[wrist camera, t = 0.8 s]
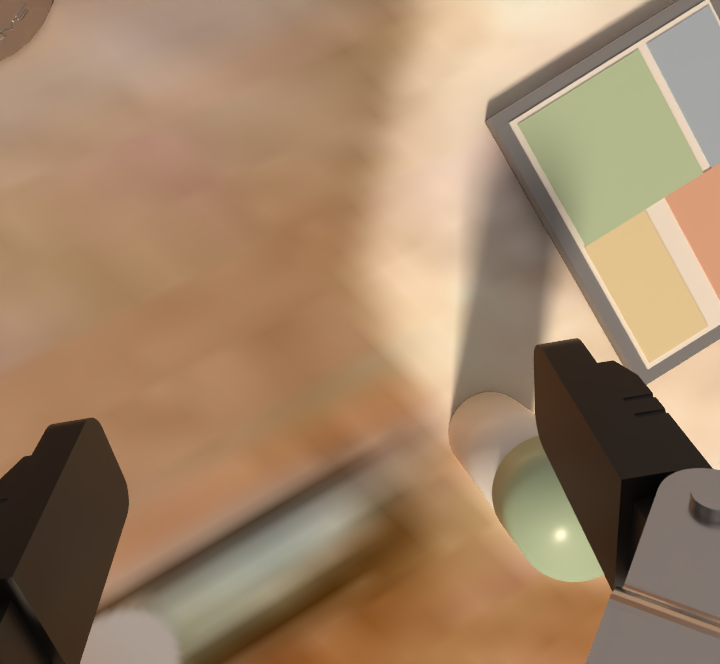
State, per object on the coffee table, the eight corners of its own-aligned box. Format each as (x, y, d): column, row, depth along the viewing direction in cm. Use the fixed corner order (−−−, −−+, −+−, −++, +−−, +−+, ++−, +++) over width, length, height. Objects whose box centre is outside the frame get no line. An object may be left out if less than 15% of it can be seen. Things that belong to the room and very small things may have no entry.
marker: (430, 419, 35) (490, 501, 23) (504, 373, 35) (602, 432, 23) (474, 490, 36) (554, 605, 24) (546, 444, 36) (663, 537, 24)
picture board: (484, 121, 33) (490, 117, 32) (702, -14, 33) (715, -24, 32) (634, 384, 36) (644, 388, 34) (838, 256, 36) (855, 256, 34)
